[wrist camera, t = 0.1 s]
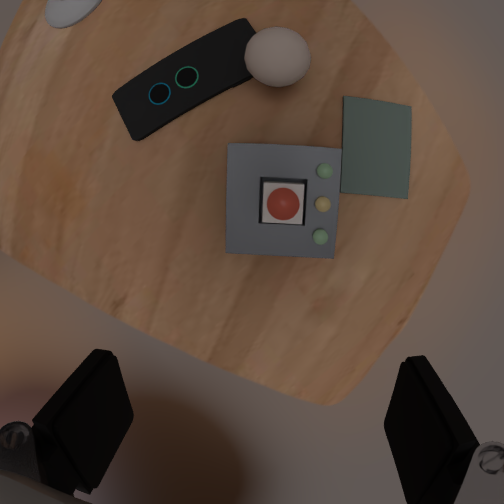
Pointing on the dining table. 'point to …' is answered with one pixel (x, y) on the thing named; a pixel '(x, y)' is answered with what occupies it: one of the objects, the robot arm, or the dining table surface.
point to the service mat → (375, 148)
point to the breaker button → (283, 202)
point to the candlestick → (68, 11)
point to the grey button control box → (282, 170)
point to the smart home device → (185, 79)
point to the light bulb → (277, 56)
